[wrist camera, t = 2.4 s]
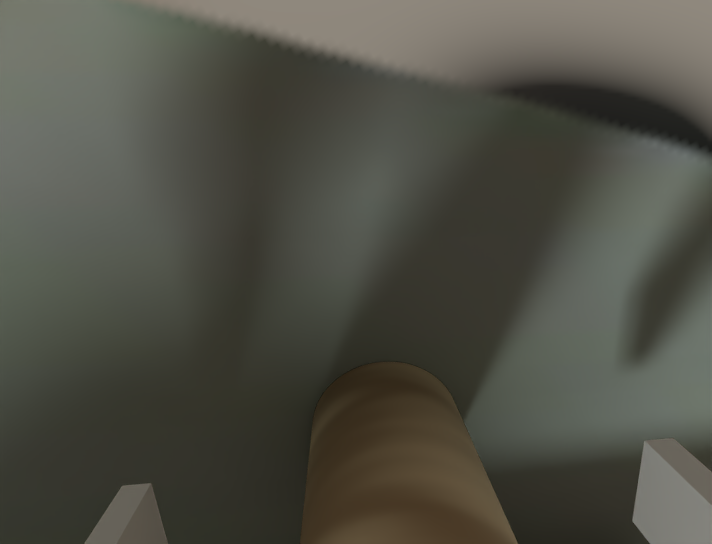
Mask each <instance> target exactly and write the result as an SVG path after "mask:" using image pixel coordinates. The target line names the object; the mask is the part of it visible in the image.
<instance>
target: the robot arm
mask: <svg viewBox="0 0 712 544" xmlns="http://www.w3.org/2000/svg"><path fill="white" fill-rule="evenodd" d="M632 521H633V523H634V524H635V525H636V526H637V528H638V529H639V530H640V532H641V533H642V534H643V535H644V537H645V538H646V539H647V541H648V542H649V543H650V544H712V472H711V471H710V470H709V469H708V468H707V467H706V466H704V465H703V464H702V463H701V462H700V461H699V460H698V459H696V458H695V457H694V456H693V455H692V454H691V453H690V452H688V451H687V450H686V449H685V448H684V447H683V446H682V445H681V444H679V443H678V442H677V441H676V440H675V439H674V438H667V439H655V440H644V447H643V454H642V460H641V467H640V473H639V480H638V486H637V493H636V500H635V506H634V513H633V519H632ZM84 544H168V542H167V538H166V534H165V531H164V527H163V524H162V520H161V516H160V513H159V509H158V506H157V502H156V498H155V495H154V491H153V487H152V484H151V483H146V484H134V485H123V486H122V487H121V488H120V490H119V491H118V493H117V494H116V496H115V497H114V499H113V500H112V502H111V503H110V505H109V506H108V508H107V510H106V511H105V513H104V514H103V516H102V517H101V519H100V520H99V522H98V523H97V525H96V526H95V528H94V529H93V531H92V532H91V534H90V535H89V537H88V538H87V540H86V541H85V543H84Z"/></svg>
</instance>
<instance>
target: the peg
mask: <svg viewBox="0 0 712 544" xmlns="http://www.w3.org/2000/svg"><path fill="white" fill-rule="evenodd" d="M300 544H518V543H517V540H516V538H515V536H514V534H513V531H512V529H511V527H510V525H509V523H508V520H507V518H506V516H505V514H504V511H503V509H502V507H501V505H500V502H499V500H498V498H497V496H496V494H495V491H494V489H493V487H492V485H491V482H490V480H489V478H488V476H487V473H486V471H485V469H484V467H483V464H482V462H481V460H480V458H479V456H478V453H477V451H476V449H475V447H474V444H473V442H472V440H471V438H470V435H469V433H468V431H467V429H466V427H465V424H464V422H463V420H462V418H461V415H460V413H459V411H458V409H457V406H456V404H455V402H454V400H453V398H452V396H451V394H450V392H449V391H448V389H447V388H446V387H445V386H444V384H443V383H442V382H441V381H440V380H438V379H437V378H436V377H435V376H434V375H432V374H431V373H429V372H427V371H425V370H423V369H421V368H419V367H416V366H413V365H411V364H406V363H401V362H377V363H370V364H367V365H363V366H360V367H358V368H355V369H352V370H351V371H349V372H347V373H345V374H343V375H342V376H341V377H339V378H338V379H336V380H335V381H334V382H333V383H332V384H331V385H330V386H329V387H328V388H327V389H326V391H325V392H324V393H323V395H322V396H321V398H320V400H319V401H318V404H317V406H316V408H315V412H314V416H313V423H312V433H311V442H310V452H309V462H308V471H307V481H306V490H305V500H304V509H303V519H302V528H301V538H300Z"/></svg>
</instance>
